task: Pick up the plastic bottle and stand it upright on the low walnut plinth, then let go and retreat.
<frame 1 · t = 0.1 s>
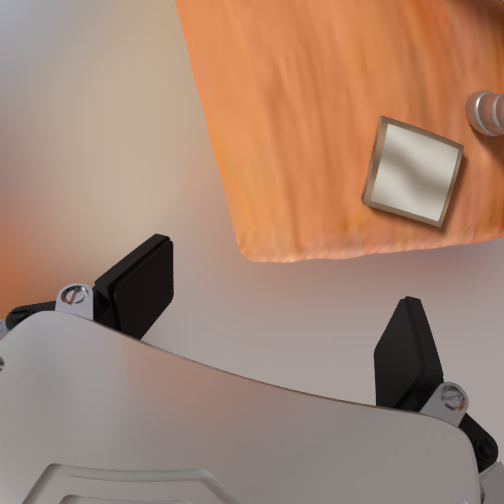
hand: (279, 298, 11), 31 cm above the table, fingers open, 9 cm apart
plinth: (410, 169, 34), on the table
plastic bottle: (478, 112, 27), on the table
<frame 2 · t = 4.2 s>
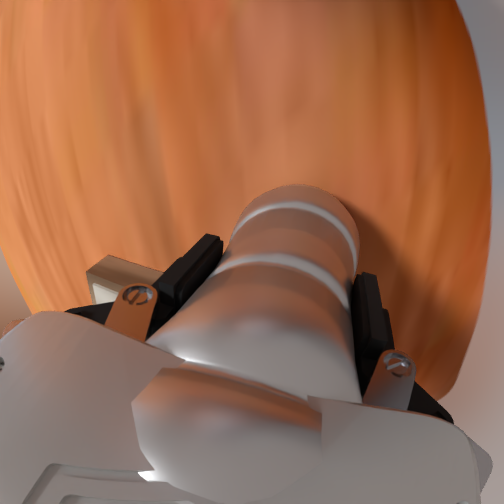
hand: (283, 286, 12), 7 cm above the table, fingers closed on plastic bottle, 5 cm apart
plinth: (169, 329, 25), on the table
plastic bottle: (300, 227, 18), on the table, touching gripper
when the fingers open (10 cm above the table, at t = 10.0 s): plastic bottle stays where it is, resting on plinth.
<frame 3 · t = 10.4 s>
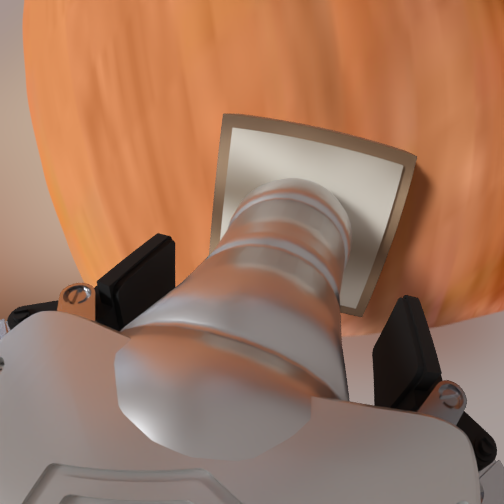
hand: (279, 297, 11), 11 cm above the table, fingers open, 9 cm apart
plinth: (306, 208, 21), on the table
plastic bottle: (296, 220, 18), point 3 cm above the table, touching plinth
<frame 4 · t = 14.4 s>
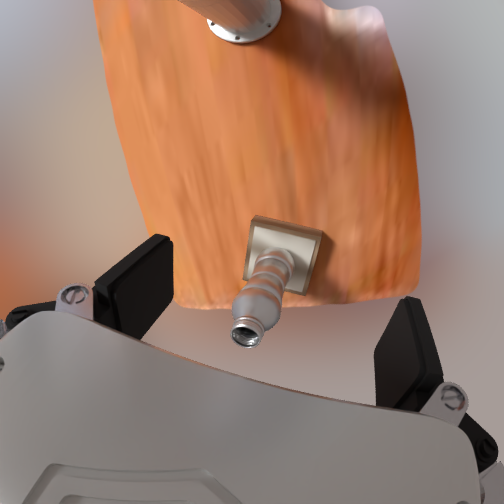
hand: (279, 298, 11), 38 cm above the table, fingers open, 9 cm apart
plinth: (282, 252, 53), on the table
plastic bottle: (277, 259, 51), point 3 cm above the table, touching plinth
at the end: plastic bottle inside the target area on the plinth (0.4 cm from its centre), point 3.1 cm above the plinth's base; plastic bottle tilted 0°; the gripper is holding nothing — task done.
